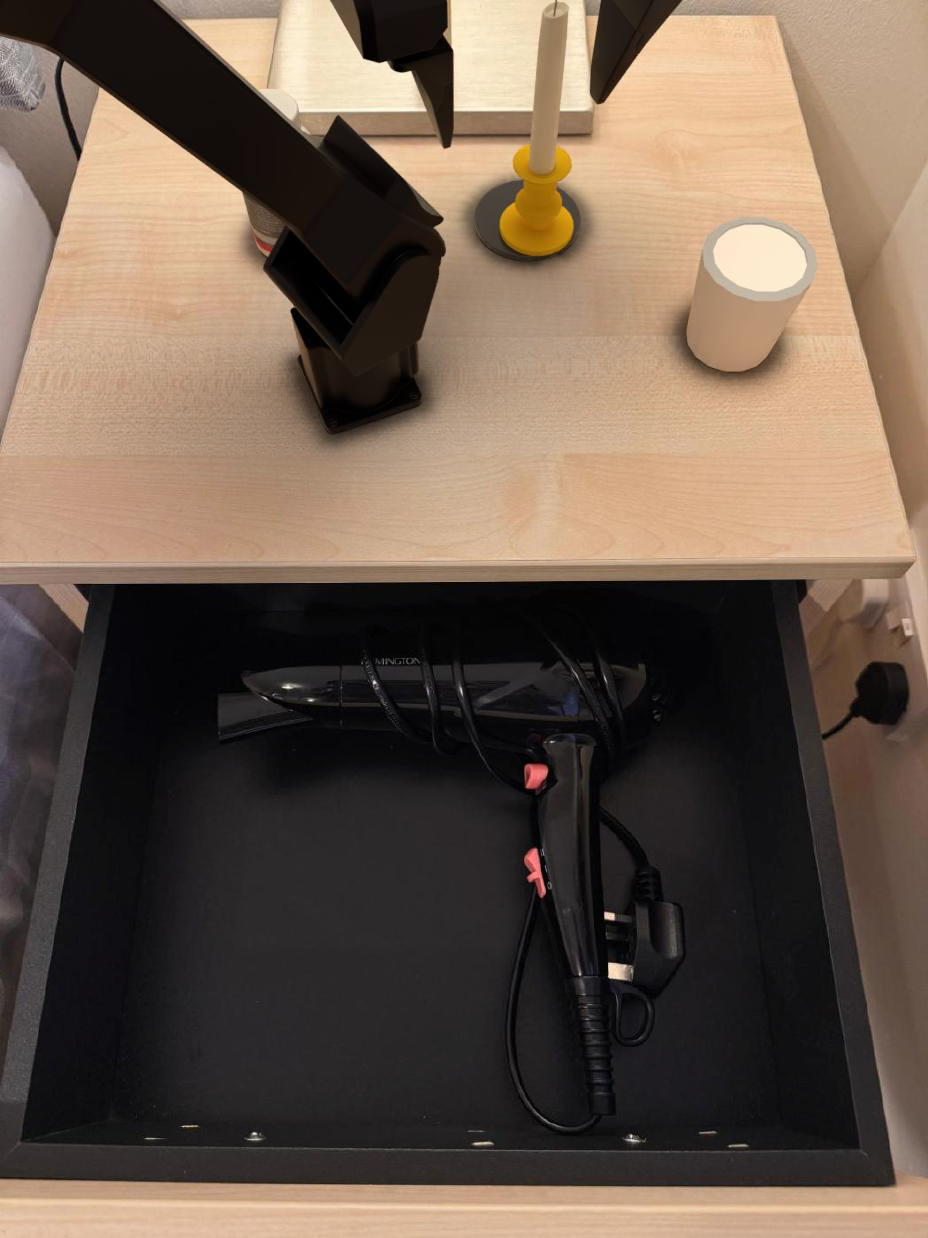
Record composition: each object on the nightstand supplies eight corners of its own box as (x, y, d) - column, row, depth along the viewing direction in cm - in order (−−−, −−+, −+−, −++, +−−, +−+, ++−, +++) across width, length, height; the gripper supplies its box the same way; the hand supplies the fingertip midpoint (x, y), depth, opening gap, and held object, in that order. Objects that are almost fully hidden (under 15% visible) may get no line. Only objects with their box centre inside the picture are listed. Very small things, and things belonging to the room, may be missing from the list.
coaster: (499, 273, 61) (499, 268, 61) (458, 201, 64) (458, 196, 64) (597, 242, 62) (598, 237, 62) (552, 172, 65) (553, 168, 65)
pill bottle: (311, 273, 61) (285, 147, 52) (242, 253, 62) (204, 125, 53) (343, 221, 63) (323, 90, 54) (275, 202, 64) (245, 70, 55)
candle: (495, 252, 61) (504, 23, 47) (503, 199, 63) (514, -35, 49) (569, 259, 61) (601, 31, 47) (575, 206, 63) (607, -28, 49)
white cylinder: (777, 387, 57) (816, 308, 51) (671, 370, 58) (697, 290, 51) (783, 307, 60) (820, 223, 53) (682, 292, 60) (707, 207, 54)
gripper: (660, -379, 39) (608, -4, 53) (253, -299, 36) (313, 75, 50) (793, -262, 34) (697, 111, 49) (343, -160, 32) (381, 205, 46)
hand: (521, 120), depth 48 cm, fingers open, 9 cm apart
